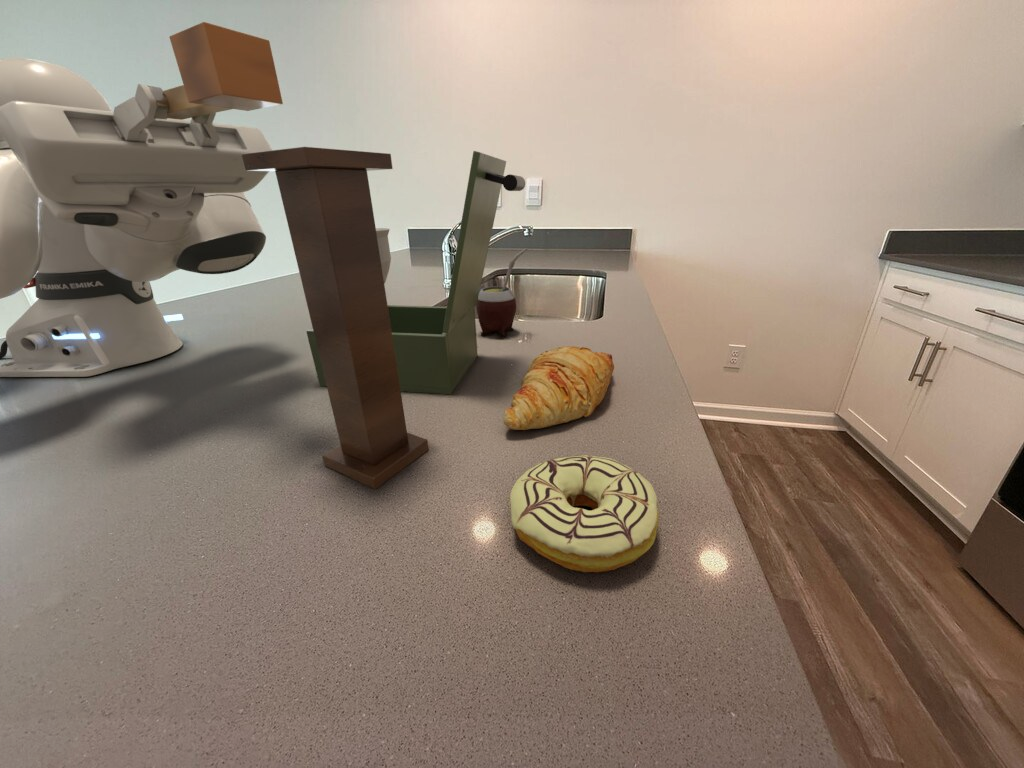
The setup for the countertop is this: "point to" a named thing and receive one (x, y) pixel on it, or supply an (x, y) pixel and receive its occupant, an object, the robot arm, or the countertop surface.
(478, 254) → the bin lid
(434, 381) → the bin
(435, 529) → the countertop surface
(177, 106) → the brown piece
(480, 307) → the mate gourd
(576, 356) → the croissant
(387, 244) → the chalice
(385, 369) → the pedestal stand
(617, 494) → the decorated donut
